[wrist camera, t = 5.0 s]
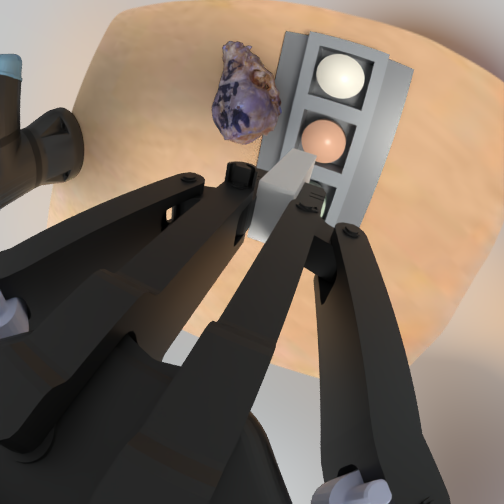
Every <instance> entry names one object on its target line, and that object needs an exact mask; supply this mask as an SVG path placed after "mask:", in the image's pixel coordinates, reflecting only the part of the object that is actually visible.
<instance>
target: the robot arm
mask: <svg viewBox="0 0 504 504" xmlns="http://www.w3.org/2000/svg"><path fill="white" fill-rule="evenodd" d="M21 69H22V60H21V57H20V56H18V55H16V54H0V209H2V208H3V207H5V206H6V205H8V204H9V203H11V202H13V201H14V200H16V199H17V198H19V197H21V196H22V195H24V194H25V193H28V192H29V191H31V190H33V189H34V188H36V187H38V186H40V185H46V184H55V183H63V182H66V181H68V180H70V179H72V178H74V177H75V176H77V174H78V173H79V171H80V169H81V167H82V163H83V155H84V147H83V139H82V134H81V130H80V127H79V125H78V122H77V120H76V119H75V117H74V116H73V114H72V113H71V112H70V111H68V110H67V109H65V108H56V109H53V110H50V111H48V112H46V113H45V114H43V115H42V116H40V117H39V118H38V119H36V120H35V121H34V122H33V123H31V124H30V125H29V126H27V127H26V128H23V129H21V130H20V95H21V82H22V78H21ZM316 157H317V155H314V154H310V153H307V152H304V151H301V150H298V149H294V148H293V149H292V150H291V151H290V152H288V153H287V154H286V155H285V156H284V157H283V158H282V159H281V160H280V161H279V162H278V163H277V164H276V165H275V166H274V167H273V168H272V169H271V170H270V171H266V170H263V169H259V168H257V167H256V166H254V165H252V164H249V163H245V162H229V163H228V164H227V170H226V176H225V181H224V182H223V183H222V184H220V185H219V186H218V187H217V188H215V187H207V186H204V184H205V179H204V177H202V176H201V175H198V174H196V173H192V172H188V173H181V174H177V175H174V176H171V177H169V178H166V179H163V180H160V181H157V182H155V183H152V184H149V185H147V186H144V187H141V188H139V189H136V190H134V191H131V192H128V193H126V194H123V195H121V196H118V197H116V198H114V199H111V200H109V201H106V202H104V203H102V204H99V205H97V206H95V207H93V208H90V209H88V210H86V211H84V212H81V213H79V214H77V215H75V216H73V217H71V218H68V219H66V220H64V221H62V222H60V223H58V224H56V225H54V226H52V227H50V228H48V229H46V230H44V231H42V232H40V233H38V234H37V235H34V236H32V237H31V238H29V239H27V240H25V241H23V242H21V243H20V244H18V245H16V246H14V247H12V248H10V249H7V250H4V251H1V252H0V504H292V501H291V499H290V496H289V493H288V491H287V488H286V486H285V483H284V480H283V478H282V475H281V472H280V470H279V467H278V464H277V462H276V459H275V456H274V453H273V450H272V448H271V445H270V442H269V439H268V437H267V435H266V433H265V431H264V429H263V427H262V425H261V424H260V423H259V422H258V420H257V418H256V417H255V416H254V415H253V414H252V413H251V411H250V410H251V408H252V406H253V403H254V401H255V398H256V396H257V394H258V391H259V388H260V386H261V384H262V381H263V379H264V376H265V374H266V371H267V369H268V366H269V364H270V361H271V359H272V356H273V353H274V351H275V348H276V343H277V340H278V337H279V335H280V332H281V329H282V327H283V324H284V321H285V319H286V316H287V313H288V310H289V308H290V305H291V302H292V299H293V296H294V294H295V291H296V288H297V285H298V282H299V279H300V276H301V273H302V270H303V267H305V268H306V269H308V270H310V271H311V272H313V273H314V274H315V276H314V291H315V303H316V317H317V332H318V350H319V372H320V408H321V409H320V411H321V465H322V471H323V478H324V482H325V483H324V484H322V485H321V486H320V487H319V488H318V489H317V490H316V491H315V493H314V495H313V496H312V500H311V504H450V498H449V495H448V492H447V489H446V487H445V485H444V482H443V480H442V477H441V475H440V472H439V470H438V468H437V466H436V463H435V461H434V459H433V457H432V454H431V452H430V450H429V447H428V445H427V443H426V441H425V439H424V437H423V434H422V429H421V423H420V417H419V411H418V406H417V401H416V396H415V391H414V386H413V382H412V377H411V373H410V369H409V365H408V361H407V357H406V353H405V349H404V345H403V342H402V338H401V334H400V331H399V327H398V324H397V321H396V317H395V314H394V311H393V308H392V305H391V302H390V299H389V295H388V292H387V290H386V287H385V284H384V281H383V278H382V275H381V272H380V270H379V267H378V264H377V262H376V259H375V256H374V254H373V251H372V248H371V246H370V243H369V241H368V238H367V236H366V234H365V233H364V232H363V231H362V230H361V229H360V228H359V227H357V226H356V225H354V224H349V223H344V222H341V223H337V224H336V225H335V227H332V226H330V225H329V224H327V223H326V222H325V221H324V220H323V219H322V218H321V216H320V215H321V210H322V206H323V203H324V199H325V196H326V192H325V190H324V189H323V188H321V187H318V186H315V185H312V184H309V181H310V178H311V174H312V171H313V167H314V164H315V161H316ZM171 207H172V219H170V220H167V219H166V210H168V209H169V208H171ZM248 228H249V231H248V236H247V237H249V238H252V239H255V240H257V241H260V242H263V243H265V244H264V246H263V247H262V249H261V251H260V252H259V254H258V256H257V257H256V259H255V261H254V262H253V264H252V266H251V267H250V269H249V271H248V272H247V274H246V276H245V277H244V279H243V281H242V282H241V284H240V286H239V287H238V289H237V291H236V292H235V294H234V295H233V297H232V299H231V300H230V302H229V304H228V305H227V307H226V309H225V310H224V312H223V314H222V315H221V317H220V318H219V320H218V321H217V322H215V321H212V322H210V323H209V324H208V326H207V327H206V328H205V330H204V331H203V333H202V334H201V336H200V338H199V339H198V341H197V342H196V344H195V345H194V347H193V349H192V350H191V352H190V353H189V355H188V357H187V358H186V360H185V361H184V363H183V364H182V366H176V365H172V364H168V363H164V362H162V359H163V357H164V355H165V353H166V352H167V350H168V349H169V347H170V346H171V344H172V343H173V341H174V340H175V338H176V337H177V336H178V334H179V333H180V331H181V330H182V328H183V327H184V325H185V324H186V323H187V321H188V320H189V318H190V317H191V315H192V314H193V313H194V311H195V310H196V308H197V307H198V305H199V304H200V303H201V301H202V300H203V298H204V297H205V295H206V294H207V293H208V291H209V290H210V288H211V287H212V285H213V284H214V283H215V281H216V280H217V278H218V277H219V276H220V274H221V273H222V271H223V270H224V268H225V267H226V266H227V264H228V263H229V261H230V260H231V259H232V257H233V256H234V254H235V253H236V252H237V250H238V249H239V247H240V246H241V245H242V243H243V241H244V237H245V233H246V231H247V229H248Z"/></svg>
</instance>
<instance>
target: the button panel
mask: <svg viewBox="0 0 504 504" xmlns="http://www.w3.org/2000/svg"><path fill="white" fill-rule="evenodd" d="M333 54H343V55H347V56H349V57H351V58H353V59H354V60H356V61H357V62H358V63H359V65H360V66H361V68H362V69H363V72H364V85H363V87H362V89H361V90H360V92H359V93H358V94H356V95H355V96H353V97H350V98H345V99H341V98H335V97H332V96H330V95H329V94H327V93H326V92H325V91H324V90H323V89H322V88H321V87H320V85H319V83H318V81H317V76H316V72H317V68H318V65H319V64H320V62H321V61H322V60H323V59H324V58H326V57H327V56H330V55H333ZM413 71H414V69H412V68H409V67H407V66H405V65H402V64H400V63H397V62H395V61H392V60H390V59H389V54H386V53H384V52H381V51H378V50H375V49H372V48H369V47H366V46H363V45H360V44H357V43H354V42H350V41H347V40H343V39H340V38H336V37H332V36H328V35H324V34H320V33H315V32H311V31H310V34H309V36H308V35H304V34H299V33H293V32H288V31H286V34H285V38H284V43H283V47H282V52H281V56H280V60H279V65H278V69H277V74H276V78H275V85H276V88H277V90H279V92H280V94H279V98H280V99H281V105H280V108H281V111H282V113H281V114H280V115H279V117H278V121H277V124H276V126H275V128H274V131H270V132H269V133H268V135H267V136H265V135H263V138H262V143H261V148H260V152H259V157H258V162H257V168H259V169H263V170H266V171H270V170H271V169H272V168H273V167H274V166H275V165H276V164H277V163H278V162H279V161H280V160H281V159H282V158H283V157H284V156H285V155H286V154H287V153H288V152H290V151H291V150H292V149H293V148H294V149H298V150H301V151H304V149H303V147H302V134H303V132H304V130H305V128H306V127H307V126H308V125H310V124H311V123H312V122H314V121H316V120H318V119H331V120H333V121H335V122H337V123H338V124H339V125H340V126H341V127H342V128H343V130H344V132H345V135H346V145H345V149H344V152H343V154H342V155H341V156H340V157H339V158H338V159H337V160H335V161H333V162H330V163H320V162H317V161H315V164H314V167H313V171H312V174H311V178H310V180H311V181H314V182H316V183H318V184H319V185H320V186H321V187H322V188H323V189H324V190H325V192H326V197H327V202H326V206H325V210H324V213H323V216H322V217H321V218H322V219H323V220H324V221H325V222H326V223H327V224H329V225H330V226H332V227H335V225H336V224H337V223H341V222H344V223H349V224H354V225H356V226H357V227H360V224H361V222H362V220H363V217H364V215H365V213H366V210H367V208H368V205H369V203H370V200H371V198H372V195H373V193H374V190H375V188H376V185H377V183H378V180H379V177H380V175H381V172H382V169H383V167H384V164H385V161H386V158H387V156H388V153H389V150H390V147H391V144H392V141H393V138H394V135H395V132H396V129H397V126H398V123H399V120H400V117H401V114H402V110H403V107H404V104H405V100H406V97H407V93H408V90H409V86H410V83H411V79H412V75H413ZM304 152H305V151H304Z"/></svg>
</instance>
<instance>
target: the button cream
mask: <svg viewBox="0 0 504 504" xmlns="http://www.w3.org/2000/svg"><path fill="white" fill-rule="evenodd" d="M316 76H317V81H318V83H319V85H320V87H321V88H322V89H323V90H324V91H325V92H326V93H327V94H329V95H330V96H332V97H335V98H341V99H345V98H350V97H353V96H355V95H356V94H358V93H359V92H360V90H361V89H362V87H363V85H364V72H363V69H362V68H361V66H360V65H359V63H358V62H357V61H356V60H354V59H353V58H351V57H349V56H347V55H343V54H333V55H330V56H327V57H326V58H324V59H323V60H322V61H321V62H320V64H319V65H318V68H317V72H316Z"/></svg>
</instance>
